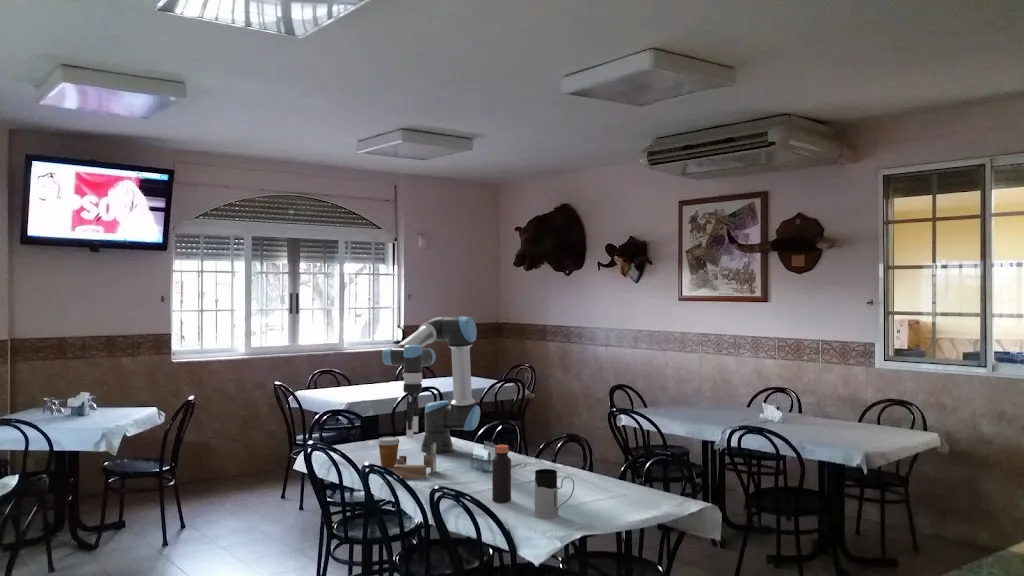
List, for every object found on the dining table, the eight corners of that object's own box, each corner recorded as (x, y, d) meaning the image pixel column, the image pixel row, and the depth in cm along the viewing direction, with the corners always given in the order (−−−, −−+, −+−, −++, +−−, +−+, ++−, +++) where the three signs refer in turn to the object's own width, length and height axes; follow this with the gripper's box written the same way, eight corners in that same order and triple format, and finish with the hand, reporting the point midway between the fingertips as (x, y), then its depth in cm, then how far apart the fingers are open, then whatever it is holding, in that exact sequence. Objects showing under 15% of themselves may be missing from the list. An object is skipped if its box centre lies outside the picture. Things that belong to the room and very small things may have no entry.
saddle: (399, 470, 332) (399, 455, 332) (406, 470, 332) (406, 455, 332) (396, 474, 325) (396, 459, 325) (403, 474, 325) (403, 459, 325)
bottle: (492, 498, 289) (493, 444, 289) (511, 498, 289) (511, 444, 289) (491, 503, 282) (491, 447, 282) (510, 503, 282) (510, 447, 282)
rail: (394, 476, 323) (394, 464, 323) (426, 477, 322) (426, 465, 322) (393, 478, 319) (393, 466, 319) (424, 479, 318) (424, 467, 318)
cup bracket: (426, 470, 332) (426, 442, 332) (435, 470, 332) (436, 442, 332) (423, 475, 324) (423, 446, 324) (433, 475, 324) (433, 446, 324)
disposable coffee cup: (373, 467, 338) (373, 439, 338) (385, 462, 347) (385, 435, 347) (392, 469, 335) (392, 441, 335) (403, 464, 344) (403, 437, 344)
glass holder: (536, 510, 273) (537, 467, 273) (576, 514, 268) (576, 470, 268) (530, 517, 264) (530, 473, 264) (571, 521, 260) (571, 476, 260)
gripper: (408, 379, 333) (407, 429, 333) (398, 386, 308) (398, 440, 308) (425, 379, 333) (425, 429, 333) (417, 386, 308) (417, 440, 308)
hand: (412, 434), depth 320 cm, fingers open, 13 cm apart
